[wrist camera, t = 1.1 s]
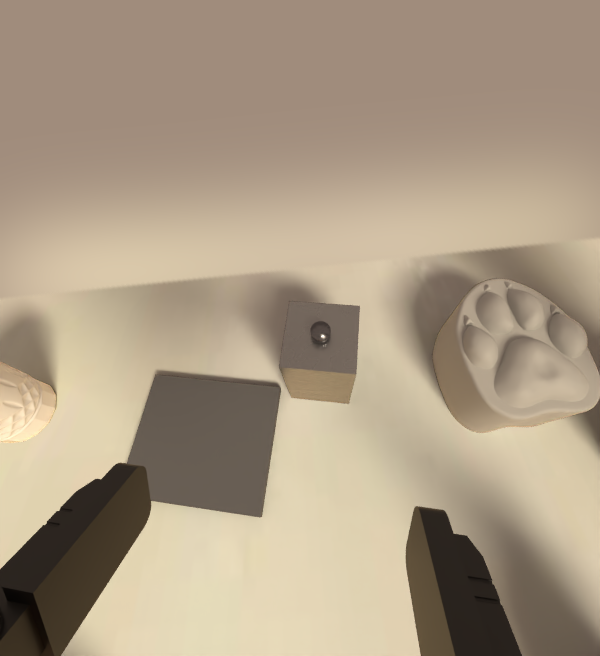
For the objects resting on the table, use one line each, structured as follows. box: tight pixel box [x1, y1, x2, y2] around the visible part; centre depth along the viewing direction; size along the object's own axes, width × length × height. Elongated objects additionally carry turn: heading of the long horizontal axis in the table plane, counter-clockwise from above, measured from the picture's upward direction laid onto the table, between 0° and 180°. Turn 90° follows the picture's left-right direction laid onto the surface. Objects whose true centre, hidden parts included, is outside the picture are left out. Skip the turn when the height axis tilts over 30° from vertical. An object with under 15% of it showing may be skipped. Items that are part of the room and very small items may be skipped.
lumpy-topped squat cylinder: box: [432, 278, 600, 433], centre depth 31 cm, size 10×13×9 cm
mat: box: [127, 375, 281, 517], centre depth 33 cm, size 14×12×1 cm
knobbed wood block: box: [279, 301, 360, 404], centre depth 31 cm, size 6×6×11 cm
